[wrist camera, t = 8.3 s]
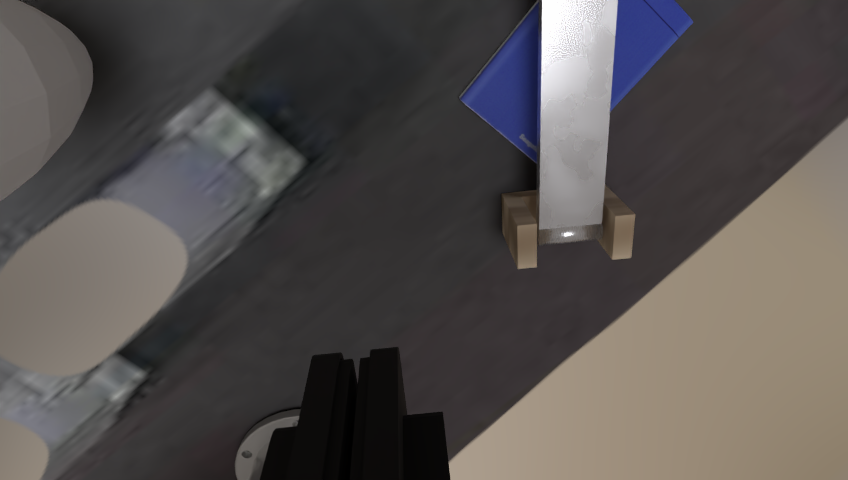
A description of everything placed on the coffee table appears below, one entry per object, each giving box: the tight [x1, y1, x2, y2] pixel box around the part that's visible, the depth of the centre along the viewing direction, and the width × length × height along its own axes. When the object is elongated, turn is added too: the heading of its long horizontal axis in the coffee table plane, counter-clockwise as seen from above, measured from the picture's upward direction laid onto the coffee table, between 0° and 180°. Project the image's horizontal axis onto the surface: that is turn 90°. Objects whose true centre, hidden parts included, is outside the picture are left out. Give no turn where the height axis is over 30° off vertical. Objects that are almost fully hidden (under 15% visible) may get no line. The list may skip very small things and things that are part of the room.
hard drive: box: [459, 0, 693, 164], centre depth 34 cm, size 2×8×12 cm
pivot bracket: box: [501, 185, 635, 269], centre depth 36 cm, size 3×7×6 cm, turn 95°
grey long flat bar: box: [536, 0, 618, 246], centre depth 31 cm, size 19×4×1 cm, turn 5°
